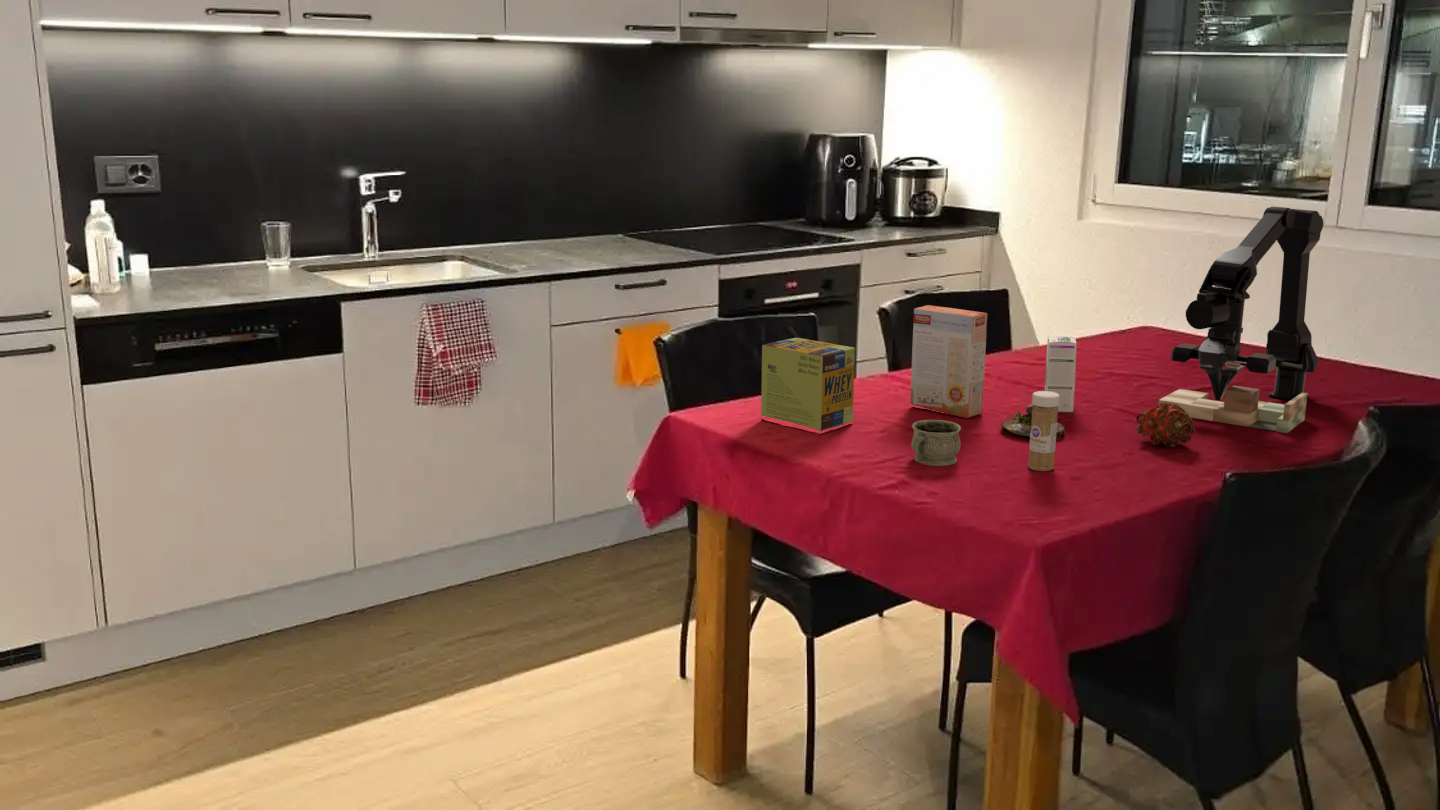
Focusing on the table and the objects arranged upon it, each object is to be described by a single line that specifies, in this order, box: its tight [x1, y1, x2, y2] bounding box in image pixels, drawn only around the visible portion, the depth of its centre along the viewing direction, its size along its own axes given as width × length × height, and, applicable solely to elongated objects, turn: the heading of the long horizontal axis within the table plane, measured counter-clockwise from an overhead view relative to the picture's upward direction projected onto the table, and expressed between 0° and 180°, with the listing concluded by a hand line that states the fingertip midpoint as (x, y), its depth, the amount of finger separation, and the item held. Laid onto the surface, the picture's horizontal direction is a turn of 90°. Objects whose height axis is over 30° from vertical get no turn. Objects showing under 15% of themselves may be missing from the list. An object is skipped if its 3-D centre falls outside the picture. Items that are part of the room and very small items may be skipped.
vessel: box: [910, 419, 962, 467], centre depth 228 cm, size 12×9×6 cm
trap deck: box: [1157, 388, 1309, 434], centre depth 256 cm, size 12×25×6 cm, turn 51°
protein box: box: [760, 337, 856, 431], centre depth 250 cm, size 10×15×16 cm
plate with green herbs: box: [1000, 403, 1066, 441], centre depth 244 cm, size 12×12×8 cm
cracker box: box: [909, 304, 988, 419], centre depth 258 cm, size 14×6×21 cm, turn 47°
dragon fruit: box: [1135, 402, 1197, 448], centre depth 237 cm, size 8×8×12 cm
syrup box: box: [1044, 336, 1078, 413], centre depth 261 cm, size 6×6×14 cm
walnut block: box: [1223, 385, 1261, 414], centre depth 252 cm, size 5×5×4 cm
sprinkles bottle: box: [1027, 390, 1060, 472], centre depth 222 cm, size 5×5×13 cm
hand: (1218, 400), depth 255 cm, fingers closed
